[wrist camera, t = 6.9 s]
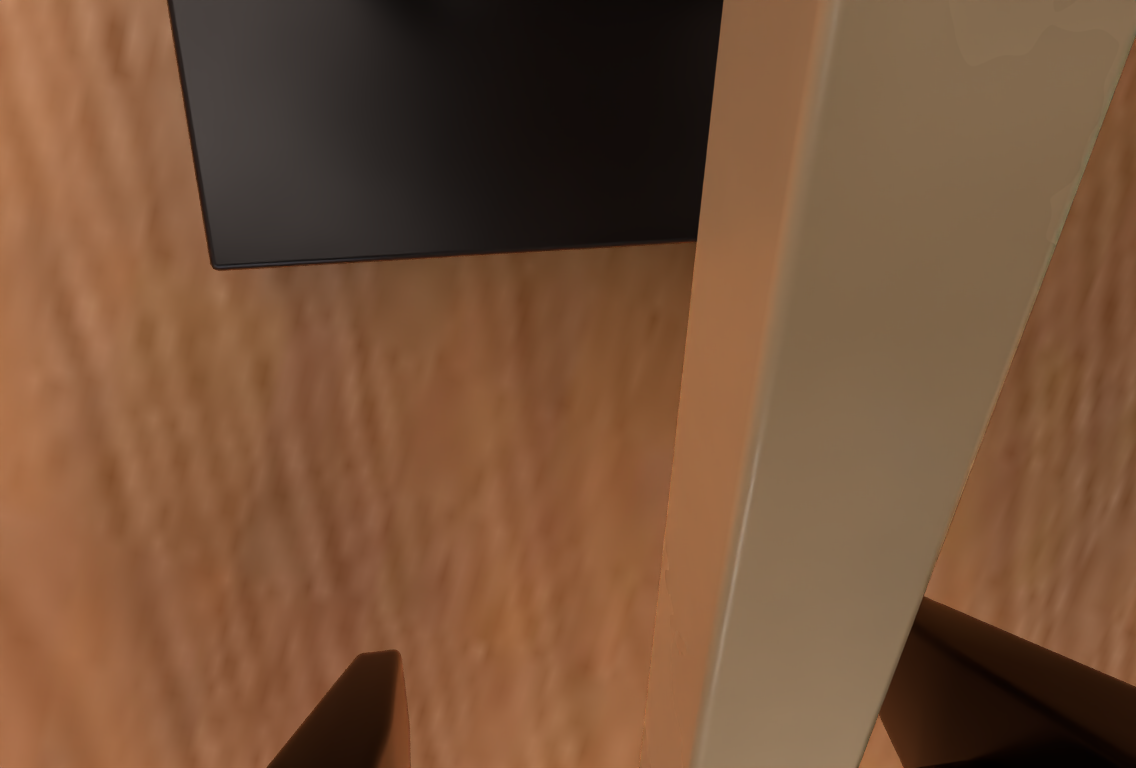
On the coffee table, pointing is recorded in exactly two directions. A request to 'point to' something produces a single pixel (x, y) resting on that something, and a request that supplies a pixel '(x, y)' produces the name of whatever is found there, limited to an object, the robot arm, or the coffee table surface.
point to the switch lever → (852, 343)
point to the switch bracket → (444, 125)
